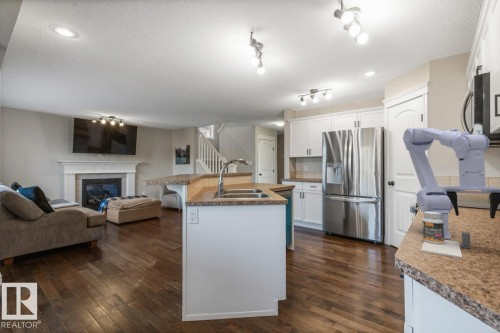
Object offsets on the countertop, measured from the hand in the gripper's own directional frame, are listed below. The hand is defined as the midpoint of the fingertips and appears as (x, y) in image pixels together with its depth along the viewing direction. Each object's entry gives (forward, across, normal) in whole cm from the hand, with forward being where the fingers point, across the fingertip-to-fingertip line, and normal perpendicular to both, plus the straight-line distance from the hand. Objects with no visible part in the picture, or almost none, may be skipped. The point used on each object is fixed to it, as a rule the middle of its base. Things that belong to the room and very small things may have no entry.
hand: (474, 216), depth 69 cm
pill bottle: (+10, -10, +1) cm, 14 cm away
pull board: (+10, -7, -3) cm, 13 cm away
